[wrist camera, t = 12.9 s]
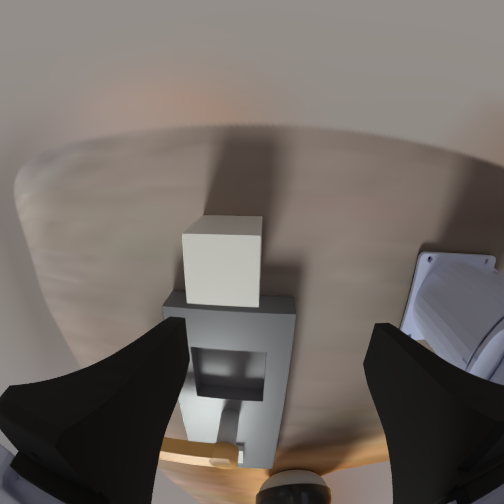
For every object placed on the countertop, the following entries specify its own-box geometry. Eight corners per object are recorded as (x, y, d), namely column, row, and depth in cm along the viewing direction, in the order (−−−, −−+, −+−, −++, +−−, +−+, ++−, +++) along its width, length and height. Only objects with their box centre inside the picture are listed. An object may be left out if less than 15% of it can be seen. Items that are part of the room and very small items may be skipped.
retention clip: (133, 429, 18) (127, 442, 17) (237, 442, 18) (236, 458, 16) (141, 443, 19) (136, 455, 17) (240, 455, 18) (238, 469, 17)
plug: (262, 216, 19) (260, 235, 14) (260, 272, 20) (258, 307, 15) (203, 215, 19) (182, 233, 14) (205, 269, 20) (186, 303, 15)
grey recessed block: (293, 296, 20) (301, 346, 15) (272, 452, 27) (271, 492, 21) (172, 290, 21) (143, 334, 15) (198, 446, 28) (189, 485, 22)
